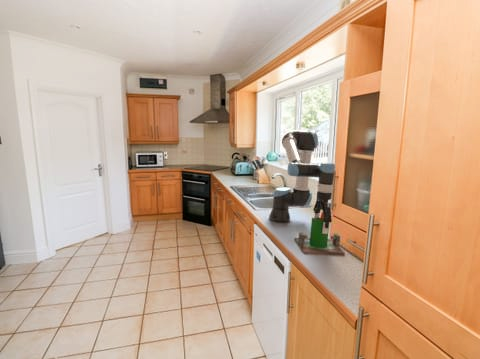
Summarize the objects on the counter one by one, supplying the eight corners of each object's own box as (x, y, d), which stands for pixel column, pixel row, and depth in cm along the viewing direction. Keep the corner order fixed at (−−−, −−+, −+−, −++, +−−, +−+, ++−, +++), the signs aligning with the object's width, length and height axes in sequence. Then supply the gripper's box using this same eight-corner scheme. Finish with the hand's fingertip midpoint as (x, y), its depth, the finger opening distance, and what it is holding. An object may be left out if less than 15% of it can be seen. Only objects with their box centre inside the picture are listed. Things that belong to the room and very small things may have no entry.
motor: (314, 239, 151) (318, 206, 148) (329, 244, 146) (334, 210, 142) (307, 244, 143) (311, 209, 140) (322, 249, 138) (327, 213, 134)
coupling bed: (294, 240, 153) (295, 227, 152) (330, 241, 155) (332, 229, 153) (303, 253, 135) (305, 240, 134) (344, 255, 137) (346, 241, 136)
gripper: (310, 186, 151) (306, 221, 155) (327, 196, 127) (322, 237, 131) (322, 186, 152) (318, 221, 156) (341, 197, 127) (336, 238, 131)
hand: (320, 228), depth 143 cm, fingers open, 13 cm apart
